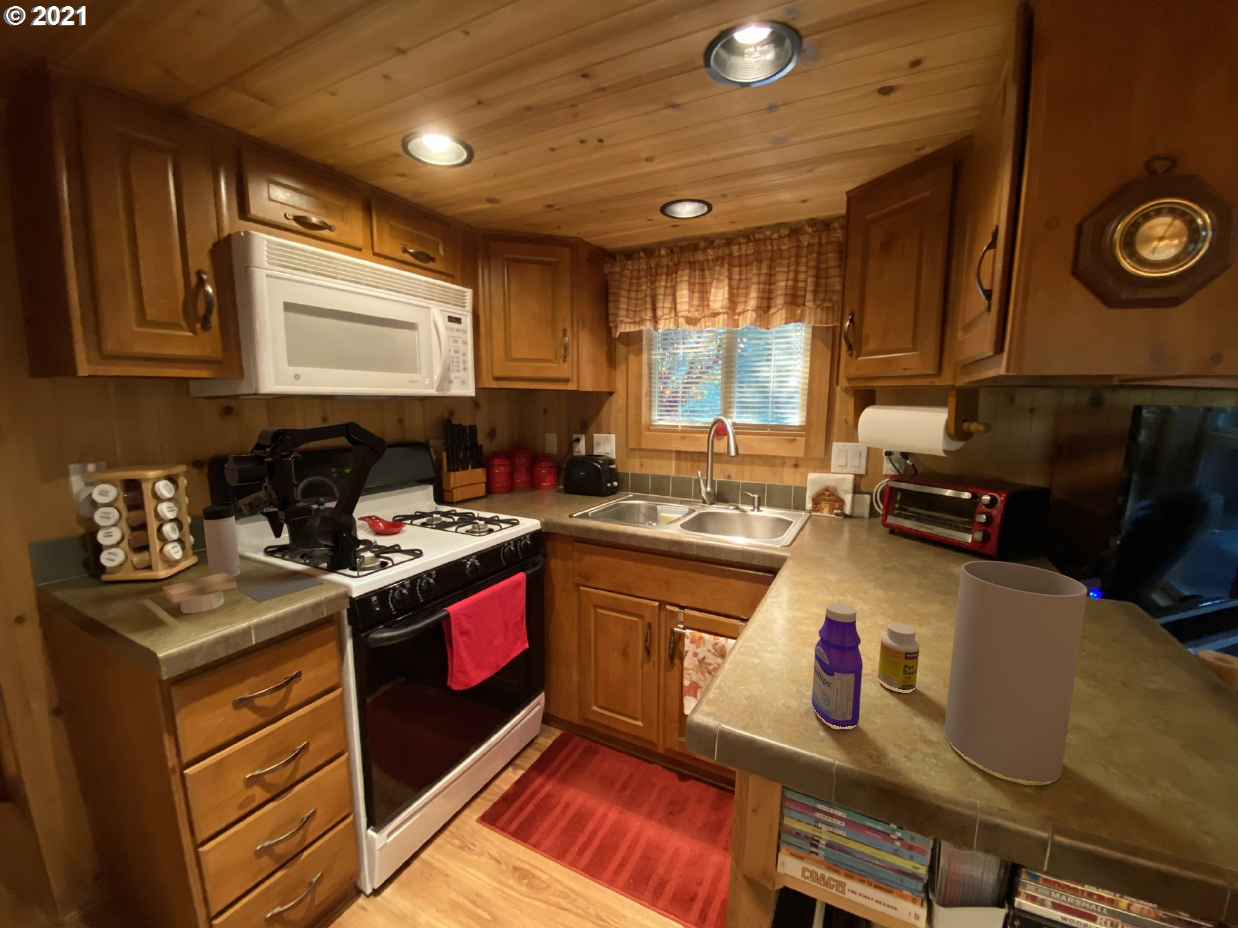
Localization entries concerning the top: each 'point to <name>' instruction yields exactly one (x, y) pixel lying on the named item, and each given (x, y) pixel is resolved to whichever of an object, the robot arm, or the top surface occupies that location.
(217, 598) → the ceramic bowl
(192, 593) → the birch board
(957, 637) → the cylinder vase
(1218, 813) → the top surface
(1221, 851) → the top surface
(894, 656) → the supplement bottle
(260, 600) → the rubber mat
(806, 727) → the top surface
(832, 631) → the bottle
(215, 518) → the travel mug
